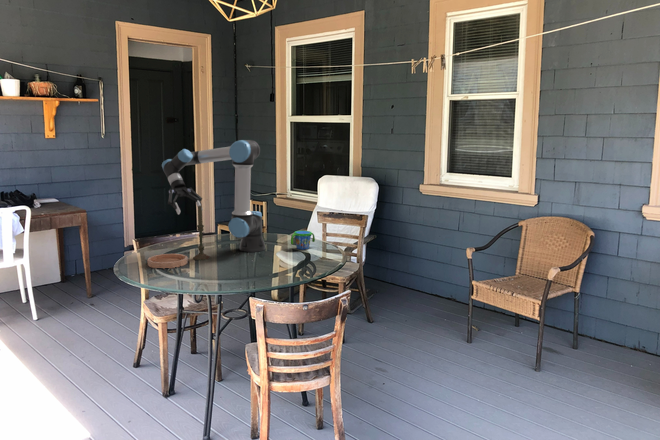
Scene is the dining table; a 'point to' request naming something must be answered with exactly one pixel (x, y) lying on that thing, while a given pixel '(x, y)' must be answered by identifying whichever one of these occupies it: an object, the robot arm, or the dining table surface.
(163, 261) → the saucer
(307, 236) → the snack cup
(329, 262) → the dining table surface
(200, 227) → the candlestick holder
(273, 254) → the dining table surface
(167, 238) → the dining table surface
